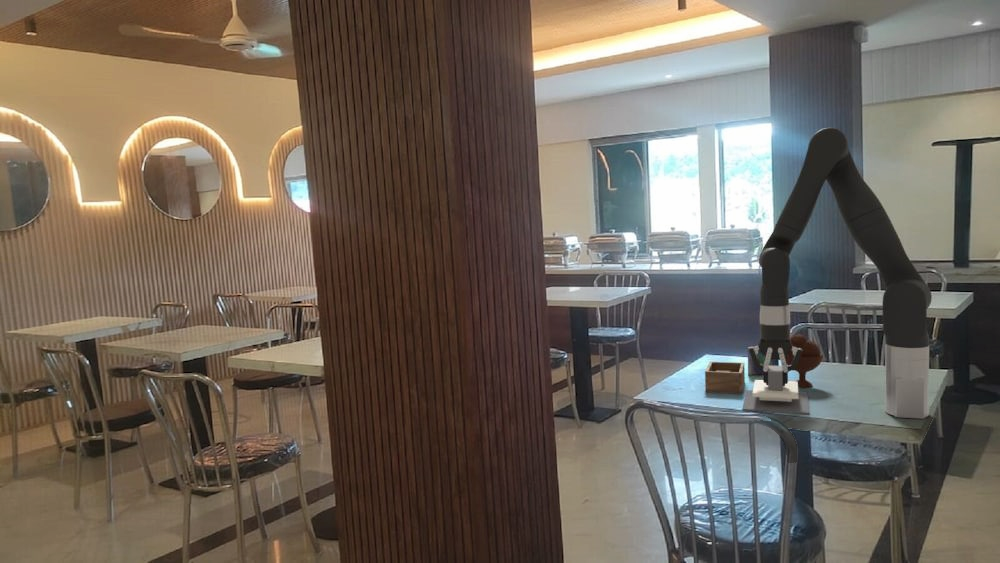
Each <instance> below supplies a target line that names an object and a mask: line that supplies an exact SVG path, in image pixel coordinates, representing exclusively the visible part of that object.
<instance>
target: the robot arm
mask: <svg viewBox="0 0 1000 563" xmlns="http://www.w3.org/2000/svg"><path fill="white" fill-rule="evenodd" d="M849 146H850V145H849V141H848V138H847V136H846V134H844V133H843V131H841V130H840V129H839V128H836V127H824V128H821V129H819V130H817V132H815V133H814V134H813V135H812V136H811V138H810V140H809V142H808V145H807V151H806V154H805V156H804V160H803V164H802V167H801V169H800V172H799V175H798V178H797V180H796V183H795V185H794V187H793V189H792V191H791V192H790V195H789V196H788V199H787V201H786V203H785V204H784V207H783V209H782V210H781V213H780V214H779V217H778V219H777V221H776V223H775V225H774V228H773V231H772V233H771V235H770V236H769V237H768V239H767V241H766V242H765V243H764V246H763V247H762V249H761V251H760V254H759V257H758V264H759V266H760V267H761V286H760V295H759V296H760V306H759V307H760V309H759V343H758V344H757V345H756V346H749V347H750V348H749V352H750V355H751V357H752V359H753V362H754V364H755V366H756V368H757V369H760V370H762V371H763V376H762V377H763V378H762V380H763V381H764V383H766V385H768V367H769V363H770V360H773V359H777V360H779V361H780V363H781V366H782V368H783V371H782V374H783V386H785V384H787V383H788V381H789V376H788V373H789V372H791V371H795V368H796V366H797V364H798V361H799V359H800V357H801V354H802V349H801V348H796V347H793V346H792V344H791V341H790V337H791V310H790V299H789V298H790V295H789V294H790V292H789V291H790V290H789V282H790V273H791V272H790V270H791V260H790V254H791V252H792V251H793V248H794V246H795V245H796V243H797V242H799V241H800V239H801V237H802V236H803V234H804V232H805V229H806V228H807V226H808V224H809V222H810V220H811V218H812V214H813V212H814V210H815V208H816V204H817V201H818V199H819V195H820V193H821V190H822V189H823V186H824V184H825V181H826V182H827V184H828V185H829V186H830V188H831V190H832V192H833V195H834V200H835V202H836V204H837V208H838V210H839V213H840V215H841V217H842V219H843V221H844V224H845V225H846V228H847V229H848V232H850V235H851V236H852V239H853V240H854V242H855V243H856V244H857V246H858V247H859V248H860V249H861V251H862V252H863V253H864V254H865V255H866V256H867V258H868V259H870V261H871V262H872V263H873V265H874V266H875V267H876V268H877V271H878V272H879V274H880V276H881V278H882V280H883V282H884V285H885V287H886V289H885V290H884V293H883V296H882V331H883V335H884V340H885V342H884V343H885V344H884V345H885V354H884V355H885V356H884V359H885V360H884V361H885V369H884V372H885V374H884V376H885V379H884V384H885V385H884V389H885V390H884V394H885V395H884V397H885V398H884V400H885V402H884V404H885V405H884V406H885V407H884V408H885V410H884V411H885V413H886V414H889V415H891V416H894V417H895V418H904V419H905V418H906V419H907V418H908V419H921V420H923V419H925V418H926V417H928V416H929V415H930V413H929V411H930V397H929V396H930V334H929V333H928V325H927V324H928V323H927V310H928V308H929V307H930V305H931V303H932V299H933V297H932V292H931V289H930V287H929V286H928V284H927V283H926V282H925V280H924V279H923V277H922V275H920V273H919V272H918V270H917V269H916V267H915V265H914V264H913V263H912V260H910V258H909V256H908V254H907V252H906V251H905V249H904V246H903V243H902V241H901V240H900V237H899V235H898V233H897V231H896V229H895V227H894V225H893V223H892V220H891V219H890V217H889V215H888V213H887V212H886V209H885V207H884V205H883V204H882V203H881V201H880V199H879V197H878V196H877V195H876V193H875V192H874V191H873V190H872V189H871V187H870V186H869V185H868V183H866V181H865V180H864V179H863V177H862V176H861V174H860V172H859V170H858V168H857V166H856V163H855V161H854V158H853V156H852V153H851V151H850V147H849ZM759 349H760V350H761V352H762V353H763V354H764V355H765V357H766V358H765V362H764V365H762V364H761V363H760V361H759V359H758V357H757V354H758V350H759ZM791 350H792V351H793V355H794V358H793V361H792V363H791V365H787V362H786V358H785V357H786V356H787V355H788V353H789V352H790V351H791Z"/></svg>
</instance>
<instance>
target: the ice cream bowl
mask: <svg viewBox="0 0 1000 563" xmlns="http://www.w3.org/2000/svg"><path fill="white" fill-rule="evenodd" d="M790 341H791V344H792V346H793V347H796V348H801V349H802V354H801V357H800V359H799V361H798V364H797V366H796V368H795V370H794V371H796V372H798V375H799V376H798V380H795V381H796V382H798V389H800V388H801V389H807V388H808V389H809V388H813V383H812V382H810V381H808V380H807V379H806V375H807V373H808V372H811V371H813V370H815V369H816V368H818V367H819V366H820V365H821V364H822V361H823V357H824V355H823V353H822V352H821V350H820V346H818V344H817V343H816V342H815V341H813V340H811V339H807V338H806V336H805V335H803V334H799V333H798V334H796V333H795V334H793V335H790ZM785 358H786V362H787V366H788V365H791V363H792V361H793V358H794V355H793V351H792V350H791V351H790V352H789V353H788V355H787V356H786V357H785Z"/></svg>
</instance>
